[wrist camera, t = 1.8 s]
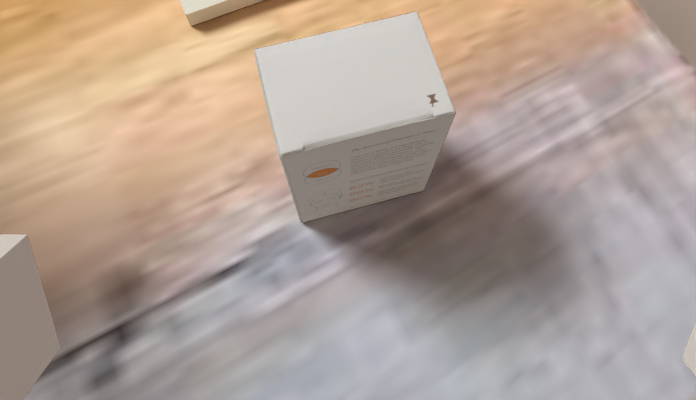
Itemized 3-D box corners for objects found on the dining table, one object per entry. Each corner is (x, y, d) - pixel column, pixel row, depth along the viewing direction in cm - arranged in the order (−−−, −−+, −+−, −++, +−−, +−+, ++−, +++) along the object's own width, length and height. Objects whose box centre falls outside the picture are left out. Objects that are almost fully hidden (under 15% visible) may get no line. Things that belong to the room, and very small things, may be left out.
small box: (398, 114, 34) (422, 6, 24) (425, 193, 32) (462, 111, 22) (278, 144, 33) (250, 44, 23) (298, 225, 32) (278, 156, 22)
